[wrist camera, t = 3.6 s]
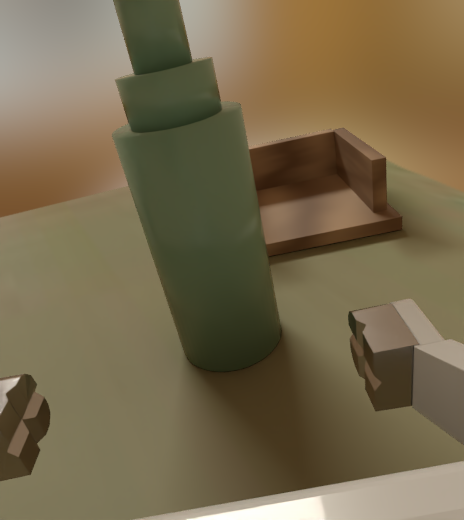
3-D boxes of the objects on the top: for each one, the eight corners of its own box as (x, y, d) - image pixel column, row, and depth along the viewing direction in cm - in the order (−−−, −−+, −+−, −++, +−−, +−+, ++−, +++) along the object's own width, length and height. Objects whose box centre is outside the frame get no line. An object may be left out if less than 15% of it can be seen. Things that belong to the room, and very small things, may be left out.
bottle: (181, 380, 21) (30, -46, 13) (185, 315, 26) (77, -25, 18) (289, 359, 21) (210, -89, 13) (273, 297, 26) (208, -56, 17)
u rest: (238, 262, 31) (224, 199, 28) (228, 202, 41) (218, 152, 39) (402, 229, 30) (402, 161, 28) (350, 177, 41) (347, 125, 38)
